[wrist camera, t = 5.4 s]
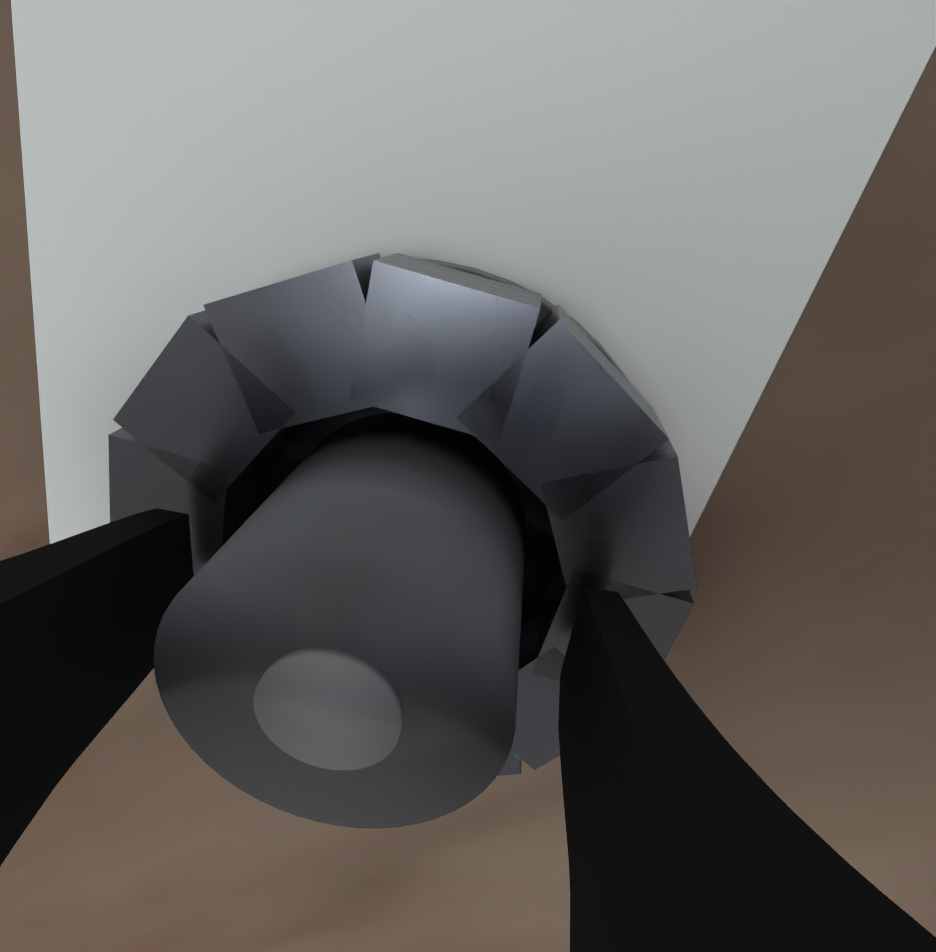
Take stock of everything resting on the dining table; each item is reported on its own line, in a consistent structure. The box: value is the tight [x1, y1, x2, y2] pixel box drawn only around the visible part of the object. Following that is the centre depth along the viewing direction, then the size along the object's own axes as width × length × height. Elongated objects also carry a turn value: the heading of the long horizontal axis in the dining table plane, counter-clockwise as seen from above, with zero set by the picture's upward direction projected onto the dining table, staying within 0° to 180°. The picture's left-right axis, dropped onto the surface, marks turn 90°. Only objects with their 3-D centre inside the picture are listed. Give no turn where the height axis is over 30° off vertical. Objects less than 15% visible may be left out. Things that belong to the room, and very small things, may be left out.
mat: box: [11, 0, 936, 544], centre depth 11 cm, size 15×24×1 cm, turn 166°
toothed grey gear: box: [108, 253, 697, 776], centre depth 12 cm, size 11×11×3 cm
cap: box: [154, 412, 526, 828], centre depth 10 cm, size 5×5×5 cm
